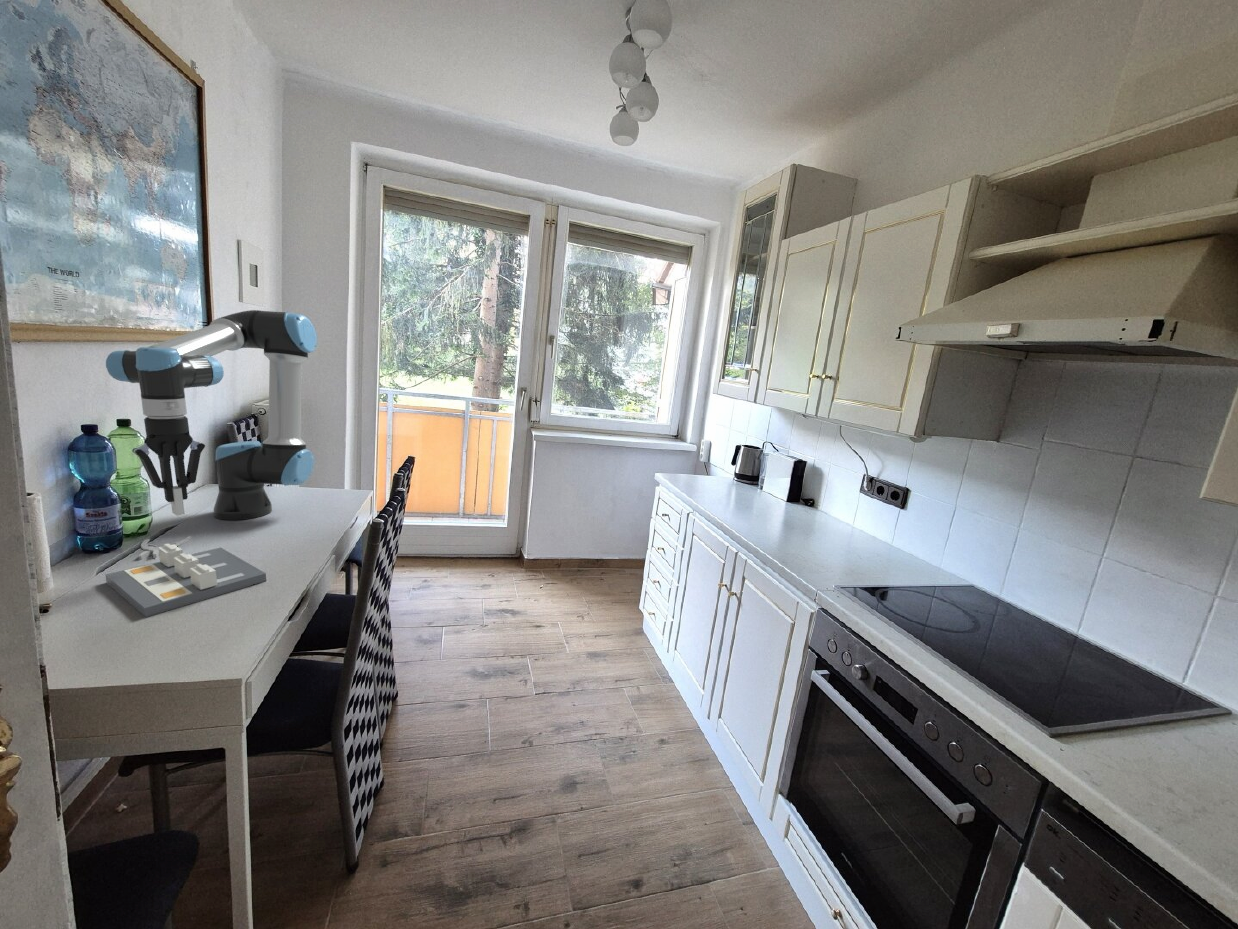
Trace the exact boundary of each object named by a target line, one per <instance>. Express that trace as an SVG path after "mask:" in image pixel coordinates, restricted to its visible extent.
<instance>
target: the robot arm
mask: <svg viewBox="0 0 1238 929" xmlns="http://www.w3.org/2000/svg"><path fill="white" fill-rule="evenodd" d="M317 339H318V338H317V332H316V330H315V327H314V325H313V324H312V322H311V320H310V319H309V318H308V317H307V316H305V315H303V314H301V313H293V312H288V311H287V312H282V311H269V310H258V309H257V310H255V309H251V310H249V309H248V310H243V311H240V312H235V313H231V314H228V315H224V316H221V317H218V318H216V319H213V320H212V321H211V322H210V323H209V325H207V326H205V327H201V328H199V329H195V330H192V331H190V332H186V333H184V334H182V335H179V336H178V335H177V336H176V337H172V338H169V339H166V340H164V341H160V342H159V343H156V344H155V343H154V344H153V345H150V346H143V347H138V348H137V349H136V350H129V349H128V350H127V349H125V350H115V351H111V352H110V353H109V354H108V355H107V357H106V359H105V368H106V371H107V372H108V374H109V376H110V377H112V378H113V379H115V380H117V381H120V382H127V383H131V384H136V383H137V384H139V389H140V398H141V399H140V400H141V407H142V412H143V413H142V414H143V415H144V416H146V417H145V418H144V419H143V420H144V422H143V423H144V428H145V429H144V430H145V433H146V434H145V435H146V437H145V439H144V442H143V443H144V444H142V445H141V446H139V447H134V448H133V449H132V450H131V451H132V453H133V454H135V456H137V458H139V461H140V462H141V464H142V466H143V468H144V470H145V472H146V474H147V476H148V478H149V481H150V483H151V485H152V486H154V487H156V488H157V489H163V491H164V492H163V493H164V499H165V501H167V503H170V504H171V511H172V514H173V515H174V516H180V515H185V514H186V513H185V504H184V500H188V489H187V488H188V487H189V485H190V484H194V483H196V481H197V476H198V471H199V465H200V460H201V459H200V458H201V455H202V452H203V451H204V449H205V447H206V444H205V443H203V442H200V441H195V440H194V439H193V437H192V436H191V434H190V426H189V418H188V417H187V416H185V415H187V414H188V412H187V405H186V404H187V403H186V393H185V389H189V388H200V387H201V388H203V387H205V388H206V387H209V386H214V385H217V384H219V383H221V381H222V380H223V378H224V375H225V373H224V366H223V365H222V364H221V362H220V361H219V360H218V359H216V358H215V357H213V356H216V355H218V354H220V353H224V352H225V351H230V352H231V351H232V352H233V351H237V350H240V349H260V350H261V349H262V350H263V355H264V356H265V357H266V358H268V360H269V374H268V375H269V379H268V380H269V381H268V382H269V384H268V385H269V386H268V387H269V388H268V390H269V391H268V434H267V435H268V437H267V438H266V439H265V440H263V441H262V444H261V442H260V441H259V440H258V441H257V440H249V441H248V440H246V441H238V442H231V443H225V444H221V445H218V446H217V447H216V449H215V459H214V461H215V466H216V473H217V486H218V494H217V498H216V500H215V504H214V507H213V516H214V518H216V519H218V520H225V521H226V520H227V521H240V520H247V519H248V520H249V519H256V518H259V517H264V516H266V515H268V514H270V513H271V512H272V511H273V510H272V509H273V507H272V502H271V499H270V498H269V496H268V494H267V492H266V489H265V486H264V484H266V485H283V486H285V487H286V486H299V485H302V484H304V483H305V482H307V481H308V479H309V478H310V476H311V475H312V473H313V470H314V467H315V457H314V454H313V452H312V451H311V450H309V449H307V443H306V442H305V441H304V440H303V439H302V436H301V434H302V392H303V391H302V388H303V386H302V385H303V384H302V382H303V378H302V377H303V363H305V362H306V361H307V360H308V359H309V354H310V353H313V352H314V351H315V350H316V348H317V344H318V340H317ZM189 448H190V452H189V458H188V462H187V468H185V452H186V451H187V450H188V449H189ZM149 450H151V451H152V452H153V453H155V454H156V455H157V459H158V461H159V466H160V474H161V475H160V476H161V477H160V476H159V474H158V471H157V470H156V467H155V466H154V463H153V461H152V459H151V457H150V456H149V455H150V451H149ZM171 457H172V459H173V466H174V473H175V475H174V476H175V481H176V485H174V482H173V475H172V466H171Z"/></svg>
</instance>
